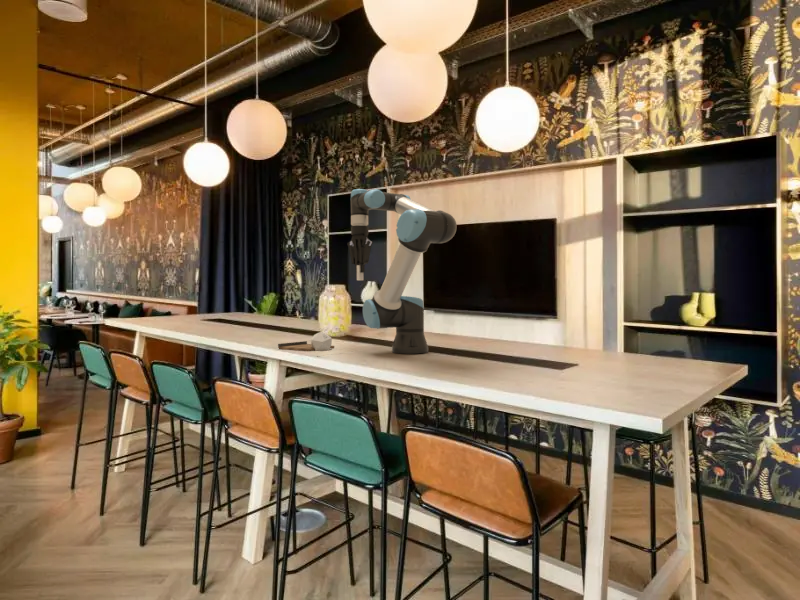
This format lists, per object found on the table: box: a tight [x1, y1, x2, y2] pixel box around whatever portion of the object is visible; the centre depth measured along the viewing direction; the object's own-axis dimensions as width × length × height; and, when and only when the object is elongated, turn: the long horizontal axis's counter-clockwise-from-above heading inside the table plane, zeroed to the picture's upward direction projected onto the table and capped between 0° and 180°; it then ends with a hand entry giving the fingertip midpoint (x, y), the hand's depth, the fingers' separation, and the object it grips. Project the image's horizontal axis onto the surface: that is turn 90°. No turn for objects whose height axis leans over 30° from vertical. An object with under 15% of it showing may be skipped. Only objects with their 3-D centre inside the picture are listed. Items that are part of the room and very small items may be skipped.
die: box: [310, 331, 333, 352], centre depth 229 cm, size 8×9×10 cm
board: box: [277, 340, 335, 352], centre depth 235 cm, size 18×16×2 cm
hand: (360, 280), depth 234 cm, fingers closed
